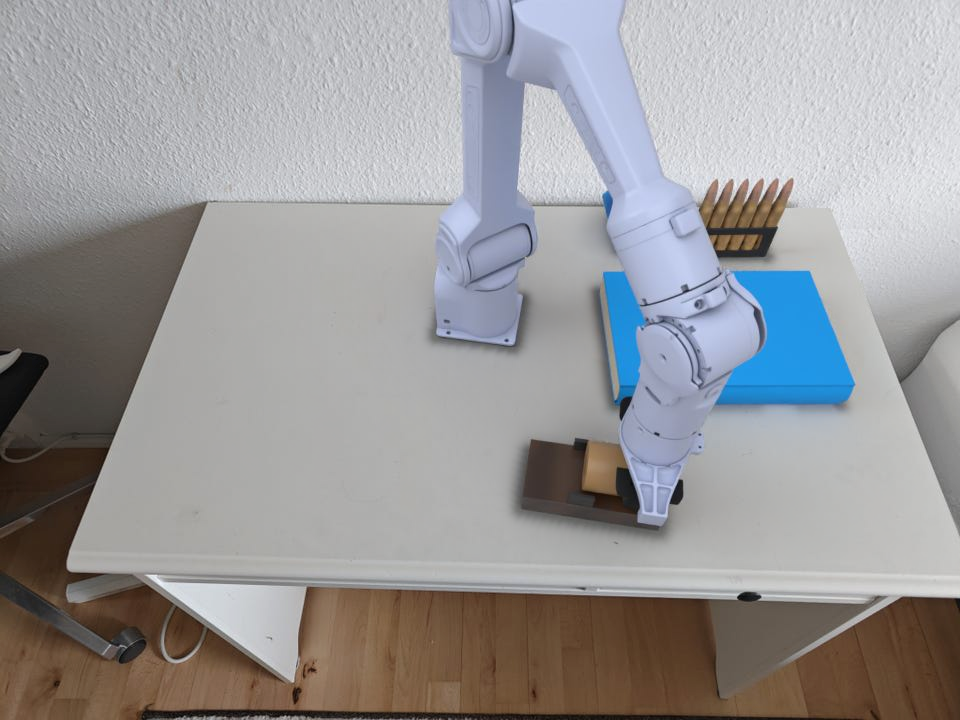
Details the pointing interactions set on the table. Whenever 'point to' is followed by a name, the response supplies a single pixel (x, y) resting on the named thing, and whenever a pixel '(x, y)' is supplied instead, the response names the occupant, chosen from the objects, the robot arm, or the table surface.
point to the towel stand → (570, 486)
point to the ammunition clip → (743, 218)
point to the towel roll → (602, 467)
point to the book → (768, 374)
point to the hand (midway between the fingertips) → (635, 480)
